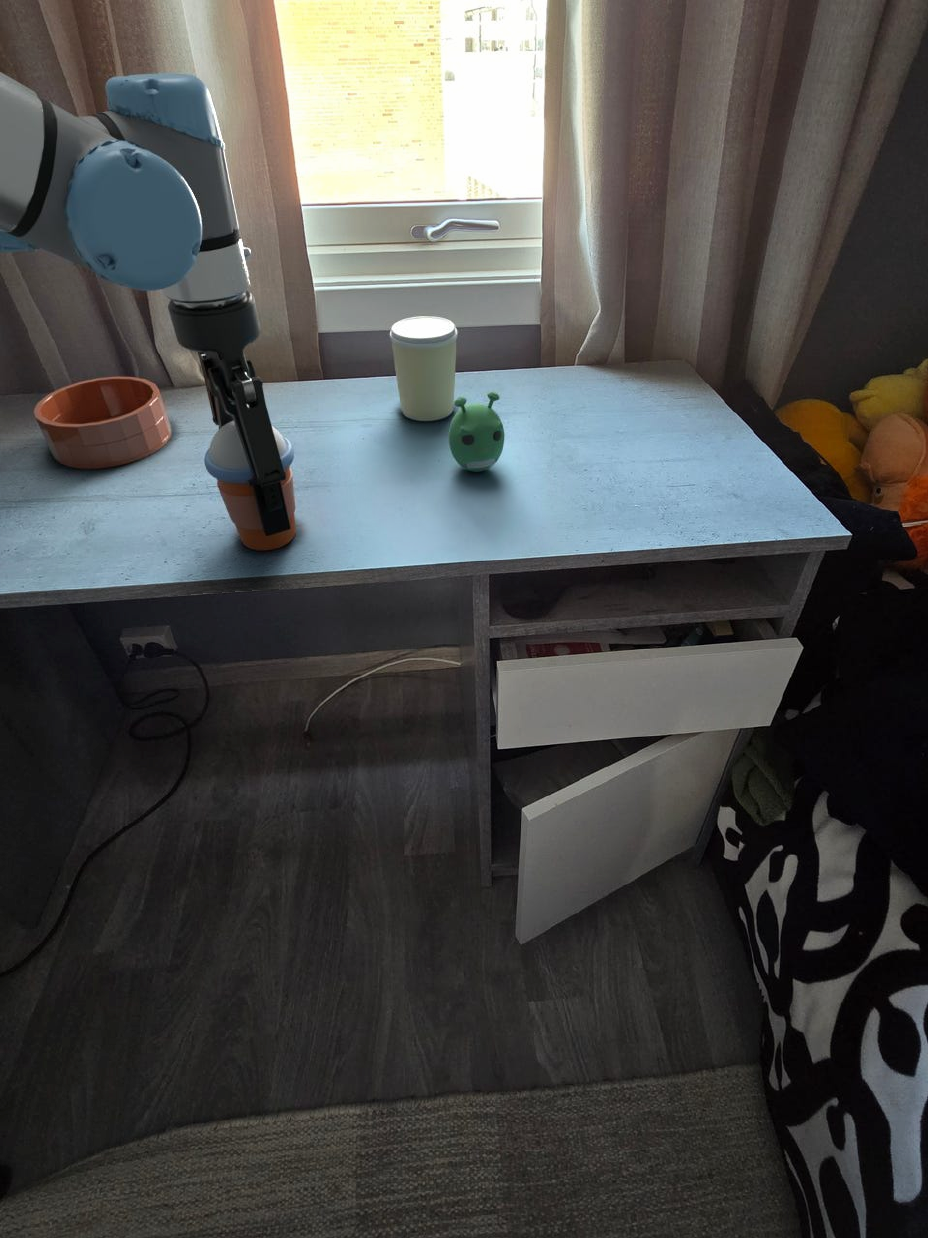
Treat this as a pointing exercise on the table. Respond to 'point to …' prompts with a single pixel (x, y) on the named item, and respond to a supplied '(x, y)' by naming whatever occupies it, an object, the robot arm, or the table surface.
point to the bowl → (104, 422)
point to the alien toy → (476, 434)
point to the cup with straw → (238, 497)
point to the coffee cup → (425, 366)
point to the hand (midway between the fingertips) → (262, 509)
